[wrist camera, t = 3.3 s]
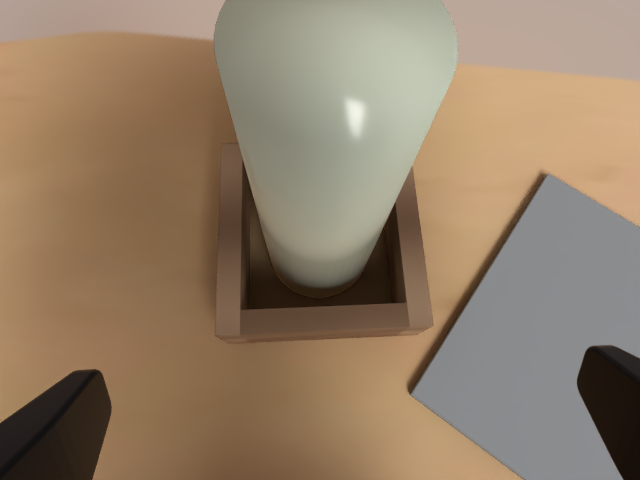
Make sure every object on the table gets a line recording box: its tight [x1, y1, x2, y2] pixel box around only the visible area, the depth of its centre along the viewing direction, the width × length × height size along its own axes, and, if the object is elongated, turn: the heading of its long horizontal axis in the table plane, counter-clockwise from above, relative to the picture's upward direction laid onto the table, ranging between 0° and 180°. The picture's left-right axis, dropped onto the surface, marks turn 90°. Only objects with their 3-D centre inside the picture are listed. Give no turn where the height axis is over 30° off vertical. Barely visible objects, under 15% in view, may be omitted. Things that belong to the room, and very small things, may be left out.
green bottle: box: [214, 0, 458, 298], centre depth 15 cm, size 5×5×14 cm
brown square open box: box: [215, 143, 434, 343], centre depth 21 cm, size 9×9×3 cm
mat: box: [410, 174, 640, 480], centre depth 20 cm, size 14×14×1 cm
